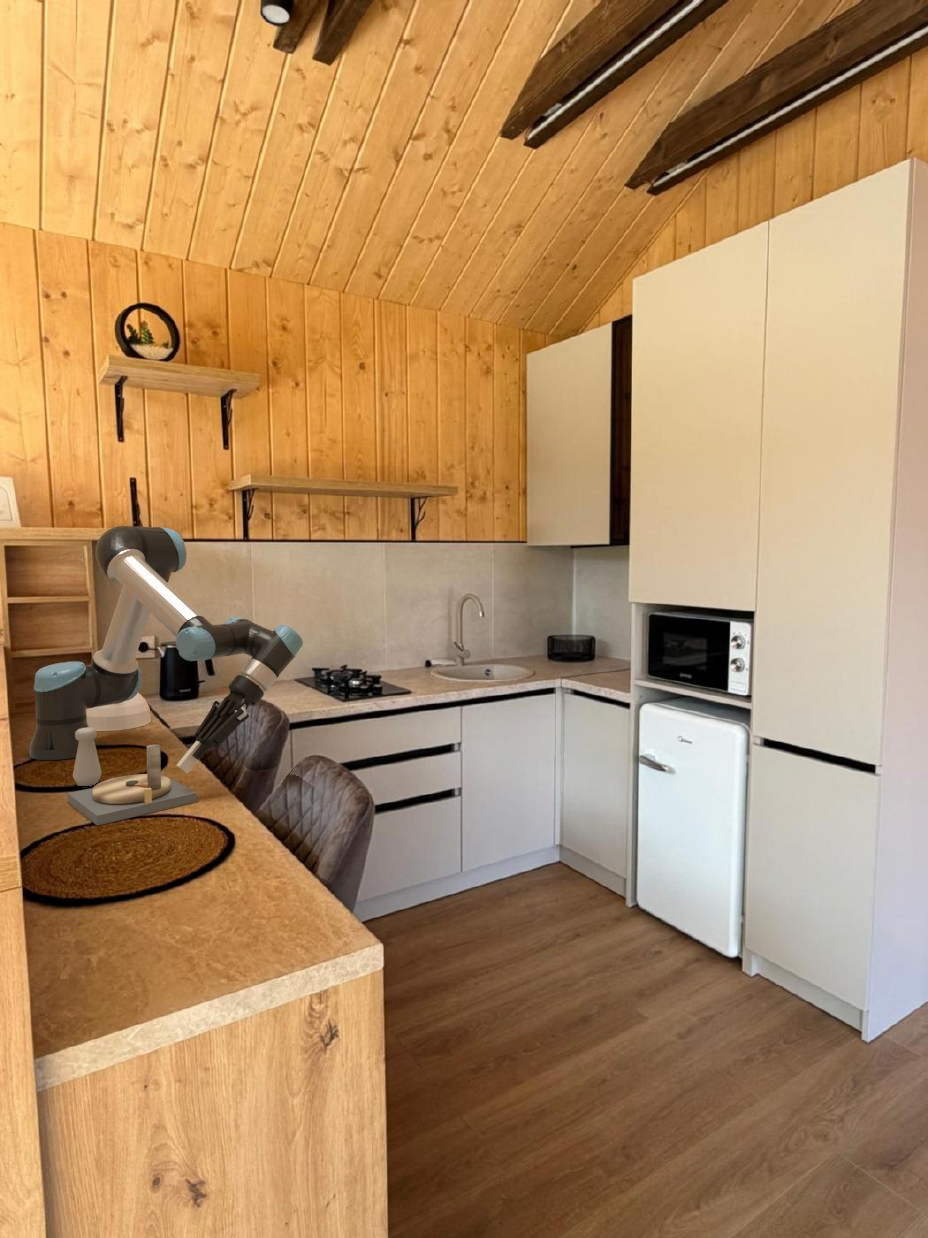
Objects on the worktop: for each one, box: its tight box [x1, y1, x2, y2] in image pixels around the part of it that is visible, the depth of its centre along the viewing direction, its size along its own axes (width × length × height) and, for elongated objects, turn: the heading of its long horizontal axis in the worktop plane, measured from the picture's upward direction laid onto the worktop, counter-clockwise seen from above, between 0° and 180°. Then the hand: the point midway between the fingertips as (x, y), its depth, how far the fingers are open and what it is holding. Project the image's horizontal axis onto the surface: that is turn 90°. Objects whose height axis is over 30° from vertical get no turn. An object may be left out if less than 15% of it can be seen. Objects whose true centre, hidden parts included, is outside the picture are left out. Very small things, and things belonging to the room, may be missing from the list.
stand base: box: [67, 773, 198, 827], centre depth 154 cm, size 18×20×5 cm
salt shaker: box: [72, 727, 103, 787], centre depth 165 cm, size 6×6×13 cm
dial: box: [92, 744, 171, 804], centre depth 153 cm, size 15×15×10 cm
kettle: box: [86, 692, 152, 732], centre depth 223 cm, size 20×21×18 cm
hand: (182, 769), depth 155 cm, fingers closed
